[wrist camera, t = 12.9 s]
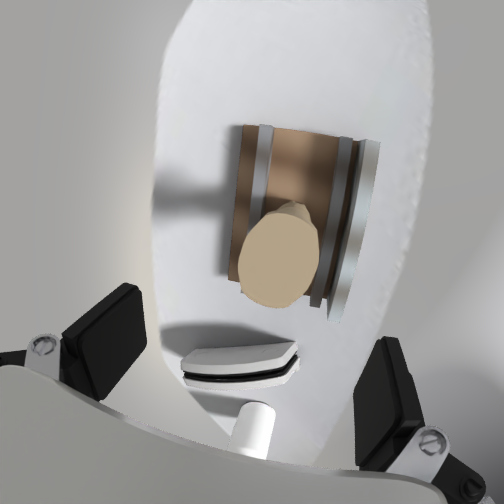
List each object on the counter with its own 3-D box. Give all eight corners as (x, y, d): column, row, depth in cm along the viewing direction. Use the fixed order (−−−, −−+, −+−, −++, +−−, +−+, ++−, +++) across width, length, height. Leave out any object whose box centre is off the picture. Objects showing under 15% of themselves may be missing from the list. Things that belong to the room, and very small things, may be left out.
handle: (265, 233, 33) (228, 292, 19) (282, 180, 31) (255, 202, 17) (304, 247, 33) (295, 317, 19) (324, 195, 30) (332, 230, 16)
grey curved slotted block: (204, 371, 45) (174, 395, 36) (198, 345, 45) (166, 365, 36) (303, 366, 40) (292, 396, 31) (298, 337, 41) (287, 361, 31)
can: (235, 411, 47) (216, 461, 36) (251, 395, 45) (234, 450, 34) (264, 425, 47) (251, 475, 36) (282, 410, 45) (271, 465, 34)
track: (246, 125, 31) (230, 119, 25) (367, 144, 29) (380, 142, 23) (231, 275, 38) (215, 298, 32) (336, 295, 35) (339, 322, 30)
